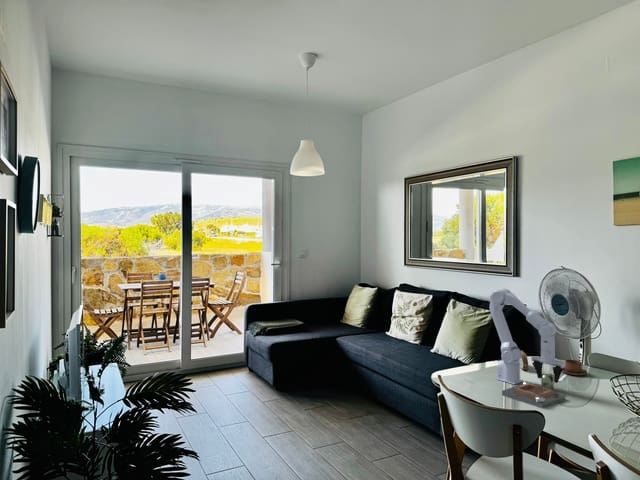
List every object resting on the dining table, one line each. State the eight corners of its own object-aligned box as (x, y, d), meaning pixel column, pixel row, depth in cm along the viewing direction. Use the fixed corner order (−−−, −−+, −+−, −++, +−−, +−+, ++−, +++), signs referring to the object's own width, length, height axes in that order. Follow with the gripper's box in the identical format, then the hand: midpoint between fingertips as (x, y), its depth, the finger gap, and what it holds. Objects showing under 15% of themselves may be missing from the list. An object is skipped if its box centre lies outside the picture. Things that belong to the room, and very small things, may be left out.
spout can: (539, 388, 201) (539, 372, 201) (545, 386, 204) (545, 370, 204) (550, 392, 197) (550, 375, 197) (556, 390, 200) (556, 373, 200)
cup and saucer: (562, 368, 233) (562, 357, 233) (588, 373, 225) (589, 361, 225) (557, 374, 224) (557, 362, 224) (585, 379, 216) (585, 366, 216)
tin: (528, 372, 226) (528, 355, 226) (522, 371, 227) (522, 355, 227) (521, 364, 241) (521, 348, 241) (515, 363, 242) (515, 348, 242)
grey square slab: (502, 395, 193) (502, 387, 193) (525, 387, 203) (525, 379, 203) (542, 408, 178) (542, 399, 178) (565, 399, 188) (565, 391, 188)
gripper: (568, 352, 196) (568, 382, 196) (537, 345, 208) (537, 374, 208) (560, 354, 193) (560, 385, 192) (528, 347, 205) (528, 377, 205)
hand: (547, 380), depth 200 cm, fingers open, 7 cm apart
